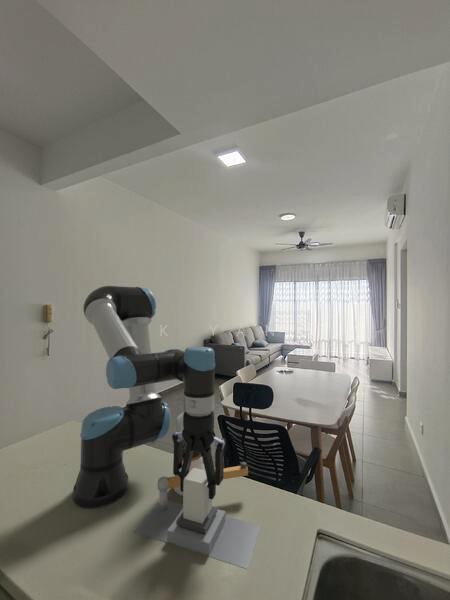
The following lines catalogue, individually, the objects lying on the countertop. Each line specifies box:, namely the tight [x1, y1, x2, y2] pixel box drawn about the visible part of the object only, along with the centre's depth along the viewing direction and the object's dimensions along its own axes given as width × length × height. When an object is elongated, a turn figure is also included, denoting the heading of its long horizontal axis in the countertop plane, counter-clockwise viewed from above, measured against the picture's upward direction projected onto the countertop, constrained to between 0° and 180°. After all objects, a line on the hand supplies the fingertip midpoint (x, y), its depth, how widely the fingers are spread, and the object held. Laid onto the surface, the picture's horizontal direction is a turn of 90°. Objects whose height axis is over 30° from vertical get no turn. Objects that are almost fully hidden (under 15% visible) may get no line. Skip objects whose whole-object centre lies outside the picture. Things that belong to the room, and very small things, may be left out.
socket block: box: [133, 490, 262, 570], centre depth 69 cm, size 28×12×6 cm, turn 70°
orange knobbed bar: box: [157, 461, 249, 492], centre depth 80 cm, size 26×3×3 cm, turn 107°
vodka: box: [173, 411, 204, 496], centre depth 86 cm, size 9×9×30 cm
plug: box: [176, 468, 218, 534], centre depth 69 cm, size 7×7×13 cm
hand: (197, 507), depth 69 cm, fingers closed on plug, 5 cm apart
